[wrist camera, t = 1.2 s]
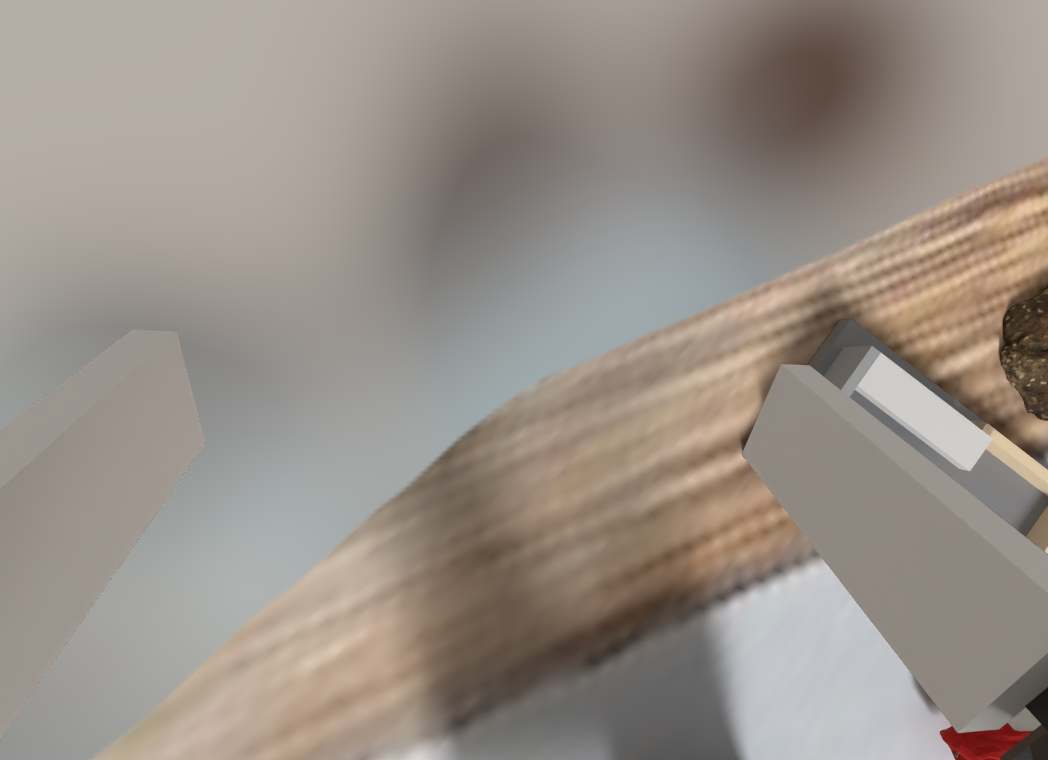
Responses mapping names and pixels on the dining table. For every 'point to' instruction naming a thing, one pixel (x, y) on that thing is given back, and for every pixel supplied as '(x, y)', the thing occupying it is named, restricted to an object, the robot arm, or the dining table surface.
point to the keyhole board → (986, 466)
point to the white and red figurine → (990, 738)
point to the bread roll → (1028, 352)
